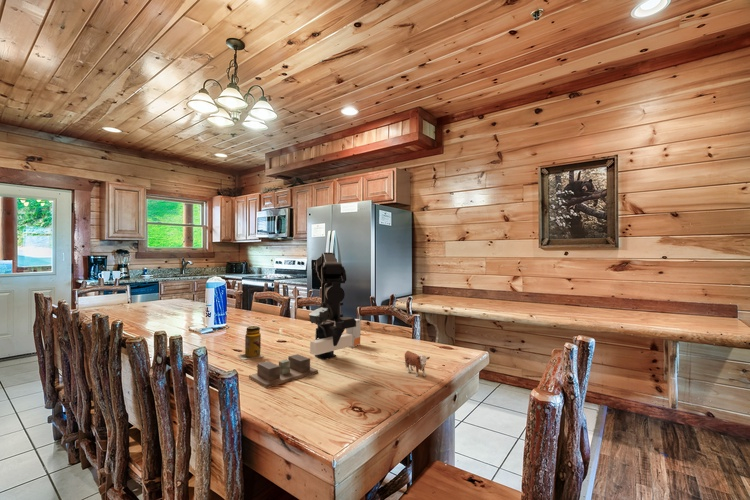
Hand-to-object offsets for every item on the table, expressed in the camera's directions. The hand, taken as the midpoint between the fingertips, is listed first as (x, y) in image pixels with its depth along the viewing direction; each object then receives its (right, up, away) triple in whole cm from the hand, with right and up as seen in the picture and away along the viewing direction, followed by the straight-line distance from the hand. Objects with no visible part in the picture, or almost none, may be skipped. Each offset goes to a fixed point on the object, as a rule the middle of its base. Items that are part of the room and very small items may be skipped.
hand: (332, 344), depth 119 cm
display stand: (-17, -11, +2) cm, 21 cm away
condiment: (-37, -12, +25) cm, 46 cm away
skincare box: (+5, -12, +43) cm, 44 cm away
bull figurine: (+30, -12, +4) cm, 32 cm away
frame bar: (0, -2, 0) cm, 2 cm away
